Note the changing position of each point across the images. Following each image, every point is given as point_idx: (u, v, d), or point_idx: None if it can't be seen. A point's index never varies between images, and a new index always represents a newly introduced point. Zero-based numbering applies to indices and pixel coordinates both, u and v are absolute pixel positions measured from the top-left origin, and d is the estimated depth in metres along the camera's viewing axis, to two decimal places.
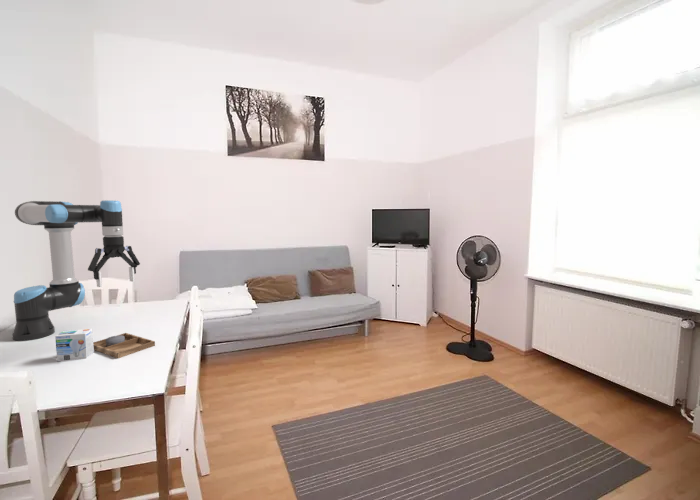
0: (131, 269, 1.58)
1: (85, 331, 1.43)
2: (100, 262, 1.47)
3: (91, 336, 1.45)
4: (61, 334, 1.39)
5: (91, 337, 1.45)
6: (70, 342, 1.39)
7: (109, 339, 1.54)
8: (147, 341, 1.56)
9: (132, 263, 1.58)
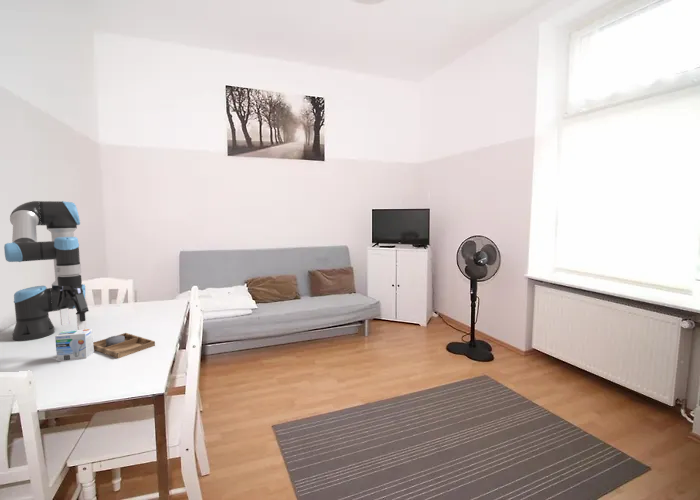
0: None
1: (85, 331, 1.43)
2: None
3: (91, 336, 1.45)
4: (61, 334, 1.39)
5: (91, 337, 1.45)
6: (70, 342, 1.39)
7: (109, 339, 1.54)
8: (147, 341, 1.56)
9: (76, 309, 1.36)
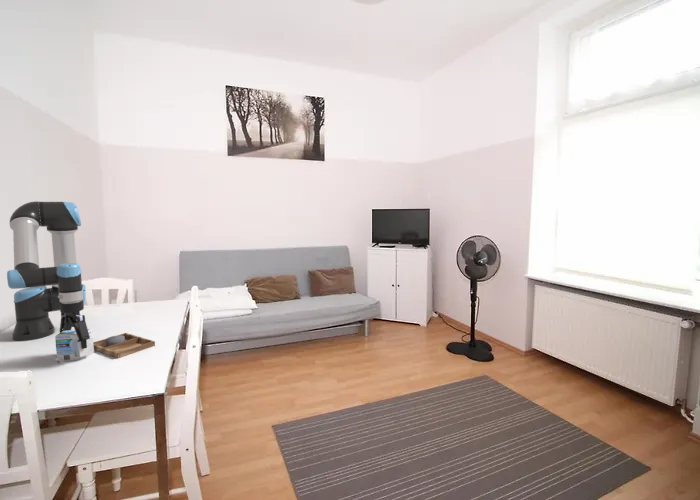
0: None
1: None
2: None
3: (91, 336, 1.45)
4: (61, 334, 1.39)
5: (91, 337, 1.45)
6: (70, 341, 1.39)
7: (109, 339, 1.54)
8: (147, 341, 1.56)
9: (78, 336, 1.38)
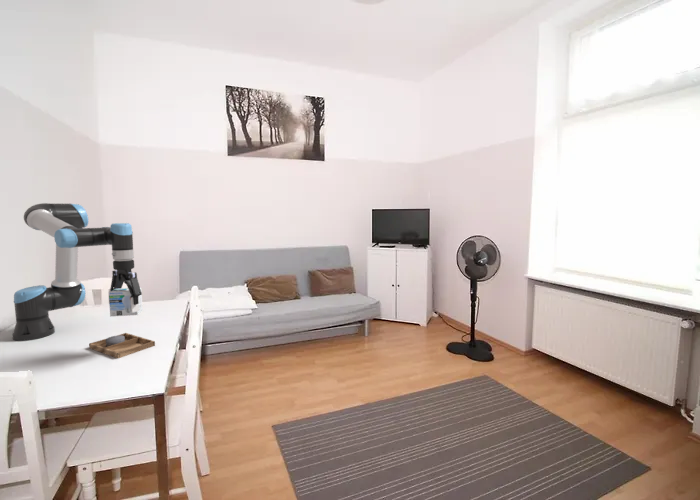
0: None
1: None
2: None
3: None
4: (114, 290, 1.45)
5: (140, 295, 1.51)
6: (122, 298, 1.45)
7: (109, 339, 1.54)
8: (147, 341, 1.56)
9: (131, 292, 1.44)
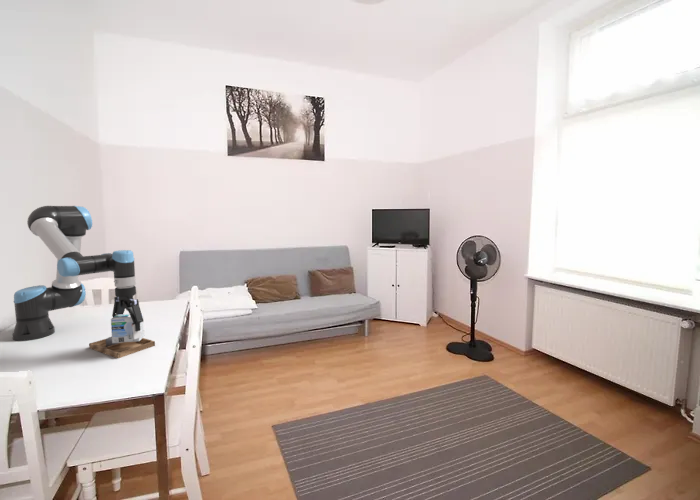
0: None
1: None
2: None
3: None
4: (116, 317, 1.47)
5: None
6: (124, 324, 1.46)
7: (109, 339, 1.54)
8: (147, 341, 1.56)
9: (132, 319, 1.45)
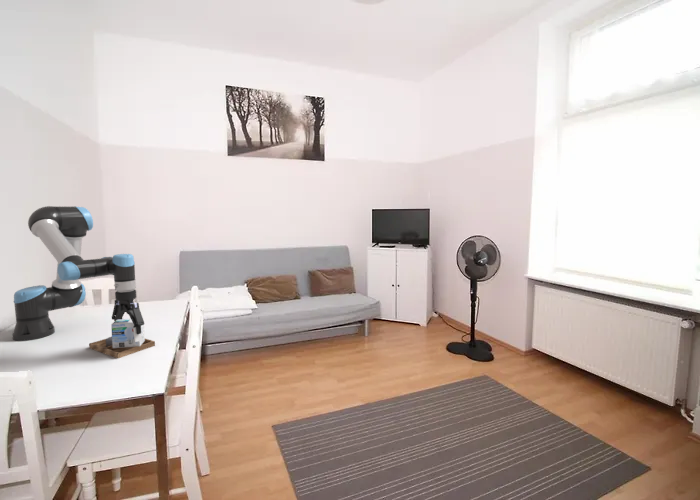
0: None
1: None
2: None
3: (142, 325, 1.53)
4: (116, 322, 1.47)
5: (143, 326, 1.53)
6: (125, 330, 1.47)
7: (109, 339, 1.54)
8: (147, 341, 1.56)
9: (133, 322, 1.45)
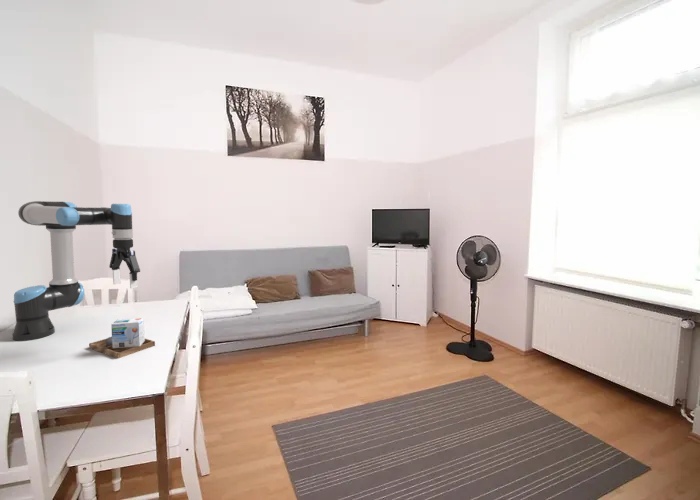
0: None
1: (138, 320, 1.50)
2: None
3: (142, 325, 1.53)
4: (116, 322, 1.47)
5: (143, 326, 1.53)
6: (125, 330, 1.47)
7: (109, 339, 1.54)
8: (147, 341, 1.56)
9: (129, 269, 1.50)
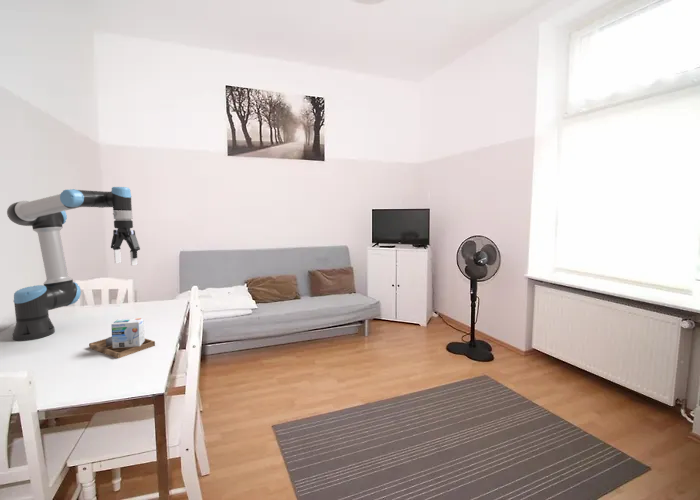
0: None
1: (138, 320, 1.50)
2: None
3: (142, 325, 1.53)
4: (116, 322, 1.47)
5: (143, 326, 1.53)
6: (125, 330, 1.47)
7: (109, 339, 1.54)
8: (147, 341, 1.56)
9: (130, 247, 1.62)
